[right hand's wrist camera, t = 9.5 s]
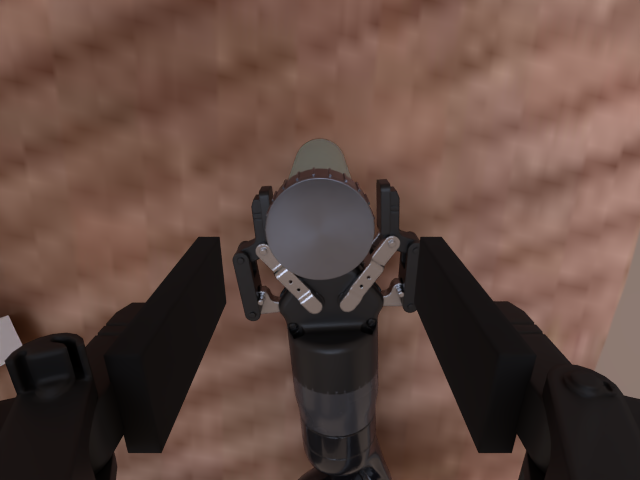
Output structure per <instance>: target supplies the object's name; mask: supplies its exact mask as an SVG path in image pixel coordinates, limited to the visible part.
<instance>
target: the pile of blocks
mask: <svg viewBox="0 0 640 480" xmlns="http://www.w3.org/2000/svg"><path fill="white" fill-rule="evenodd" d="M21 346H22V343H21V341H20V339H19V337H18V335H17V333H16V331H15V328H14V326H13V324H12V322H11V320H10V318H9V316H8V315H7V316H4V317H1V318H0V366H1V365H4V364H5V360H6V359H7V357H8V356H9V355H10V354H11V353H12V352H13V351H15V350H16V349H18V348H19V347H21Z"/></svg>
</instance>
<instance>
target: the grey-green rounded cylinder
mask: <svg viewBox="0 0 640 480" xmlns="http://www.w3.org/2000/svg"><path fill="white" fill-rule="evenodd" d="M313 167H315V169H317V168H322V169H329V168H331V170H334V171H338V172H340V173H342V174H343V173H345V174H346V176H348V177H349V178H351V176H350V173H349V170H348V167H347V164H346V161H345V158H344V155H343V153H342V151H341V150H340V148H339V147H338V146H337V145H336V144H335V143H333V142H331V141H329V140H326V139H314V140H311V141H309V142H307V143H305V144H304V145H303V146H302V147H301V148H300V149H299V151H298V153H297V155H296V158H295V161H294V164H293V167H292V170H291V173H290V176H289V178H291V177H292V176H294V175H296V174H297V172H299V171H300V172H303V171H305V170H310V169H313Z"/></svg>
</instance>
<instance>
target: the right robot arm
mask: <svg viewBox="0 0 640 480" xmlns="http://www.w3.org/2000/svg"><path fill="white" fill-rule="evenodd" d="M225 305H226V295H225V285H224V275H223V266H222V256H221V247H220V237H198V238H197V239H196V241H195V242H194V243H193V244H192V246H191V247H190V248H189V249H188V251H187V252H186V253H185V254H184V256H183V257H182V258H181V259H180V261H179V262H178V263H177V264H176V266H175V267H174V268H173V269H172V271H171V272H170V273H169V274H168V275H167V277H166V278H165V279H164V280H163V282H162V283H161V284H160V285H159V287H158V288H157V289H156V290H155V292H154V293H153V294H152V295H151V297H150V298H149V299H148V300H147V302H146V303H131V304H129V305H128V306H126V307H124V308H123V309H121V310H120V311H118V312H116V313H115V315H114V316H113V317H112V318H111V319H110V320H109V321H108V322H107V324H106V326H104V327H103V328H102V329H101V330H100V331H99V332H98V336H95V337H94V338H93V339H92V340H91V341H90V342H89V344H88V345H87V346H86V347H85V345H84V341H83V338H81V337H80V336H78V335H77V334H71V333H59V334H51V335H48V336H44V337H40V338H37V339H35V340H33V341H30V342H28V343H26V344H24V345H22V346H21V347H19V348H18V349H16V350H15V351H13V352H12V353H11V354H10V355H9V356H8V357H7V359H6V360H5V364H6V366H7V369H8V372H9V374H10V377H11V380H12V382H13V385H14V388H15V390H16V393H17V396H16V397H15V398H11V399H7V400H2V401H0V480H116V474H117V462H116V457H115V454H114V451H115V449H116V447H117V445H118V444H119V442H120V440H121V438H122V437H123V435H124V438H125V442H126V446H127V450H128V453H162V450H163V448H164V446H165V443H166V441H167V439H168V437H169V434H170V432H171V430H172V427H173V425H174V423H175V420H176V418H177V416H178V413H179V411H180V409H181V406H182V404H183V402H184V399H185V397H186V395H187V393H188V390H189V388H190V386H191V383H192V381H193V379H194V376H195V374H196V372H197V369H198V367H199V365H200V362H201V360H202V358H203V355H204V353H205V351H206V349H207V346H208V344H209V342H210V339H211V337H212V335H213V332H214V330H215V328H216V325H217V323H218V321H219V318H220V316H221V314H222V311H223V309H224V307H225ZM414 305H415V307H416V309H417V311H418V314H419V316H420V318H421V321H422V323H423V325H424V328H425V330H426V332H427V335H428V337H429V339H430V342H431V344H432V346H433V349H434V351H435V353H436V355H437V358H438V360H439V362H440V365H441V367H442V369H443V372H444V374H445V376H446V379H447V381H448V383H449V386H450V388H451V390H452V393H453V395H454V397H455V399H456V402H457V404H458V406H459V409H460V411H461V413H462V416H463V418H464V420H465V423H466V425H467V427H468V430H469V432H470V434H471V437H472V439H473V441H474V443H475V446H476V448H477V450H478V453H512V450H513V446H514V442H515V438H516V434H517V435H518V436H519V438H520V440H521V442H522V443H523V445H524V447H525V449H526V454H525V457H524V461H523V464H522V468H521V472H520V475H519V479H518V480H640V399H637V398H632V397H628V396H624V395H623V394H622V392H621V391H620V390H619V388H618V387H617V386H616V385H615V384H614V383H613V382H611V381H610V380H609V379H608V378H606V377H605V376H603V375H601V374H599V373H597V372H595V371H593V370H591V369H588V368H585V367H581V366H578V365H572V364H571V363H570V362H569V361H568V359H567V358H566V357H565V356H564V355H563V354H562V353H561V352H560V351H559V349H558V348H557V347H556V346H555V345H554V344H553V343H552V342H551V341H550V340H549V338H548V337H547V336H546V335H545V334H543V333H542V331H541V330H540V328H539V327H538V326H537V325H534V322H533V321H532V320H531V319H530V317H529V316H528V315H527V314H526V313H525V312H524V311H523V310H521V309H519V308H518V307H516V306H515V305H513V304H511V303H510V302H508V301H493V300H492V299H491V298H490V297H489V295H488V294H487V293H486V292H485V290H484V289H483V288H482V287H481V285H480V284H479V283H478V282H477V280H476V279H475V278H474V277H473V275H472V274H471V273H470V272H469V271H468V269H467V268H466V267H465V266H464V264H463V263H462V262H461V261H460V259H459V258H458V257H457V256H456V254H455V253H454V252H453V251H452V249H451V248H450V247H449V246H448V244H447V243H446V242H445V241H444V239H443V238H442V237H420V247H419V256H418V266H417V275H416V285H415V295H414Z"/></svg>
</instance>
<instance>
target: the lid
mask: <svg viewBox="0 0 640 480" xmlns="http://www.w3.org/2000/svg"><path fill="white" fill-rule="evenodd" d="M369 205H370V202H369V200H368V198H367V195H366V194H364V193H363V191H362V190H361V189H360V187H359V185H358V183H357V182H356V183H355V182H354V181H353V180H352V179H351V178H349V177H348V176H346V174H345V173H343V174H342V173H340V172H338V171H334V170H331V168H329V169H322V168H317V169H315V167H313V169H310V170H305V171H303V172H300V171H299V172H297V174H296V175H294V176H292V177H291V178H289V179H288V180H285V181H284V183H283V185H282V186H281V187H280V188H279V190H278V192H277V191H276V192H275V194H274V196H273V198H272V204H271V205H270V206H269V209H268V211H267V213H266V216H267V219H266V226H265V231H266V239H267V243H268V246H269V248H270V250H271V252H272V254H273V255H274V257H275V258H276V260H277V261H278V262H279V263H280V264H281V265H282V266H283V267H284V268H286V269H287V270H288V271H290V272H292V273H294V274H295V275H298V276H300V277H303V278H307V279H313V280H328V279H333V278H337V277H340V276H342V275H344V274H347V273H348V272H350V271H352V270H353V269H354V268H356V267H357V266H358V265H359V264H360V263H361V262H362V261H363V260H364V258H365V257H366V256H367V254H368V252H369V250H370V248H371V246H372V243H373V239H374V231H375V227H374V219H375V218H374V215H373V213H372V210H371V208H370V207H369Z"/></svg>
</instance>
